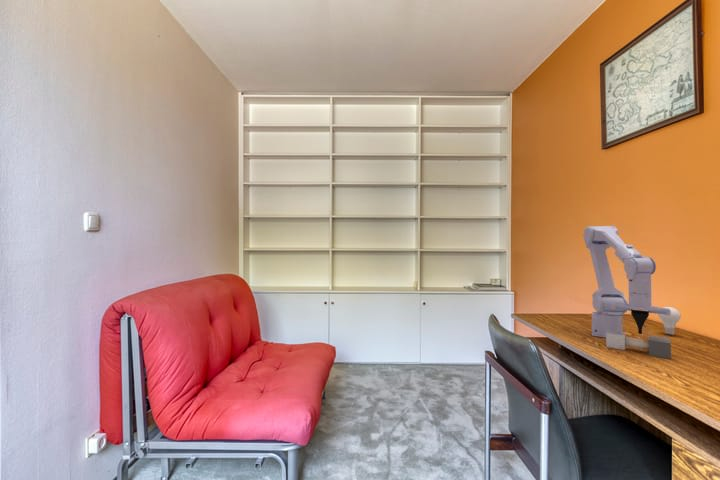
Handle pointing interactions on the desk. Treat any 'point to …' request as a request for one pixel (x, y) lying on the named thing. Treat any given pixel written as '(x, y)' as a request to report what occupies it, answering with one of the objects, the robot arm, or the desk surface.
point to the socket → (659, 347)
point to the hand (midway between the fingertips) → (640, 333)
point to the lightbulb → (670, 320)
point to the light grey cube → (615, 339)
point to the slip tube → (638, 341)
